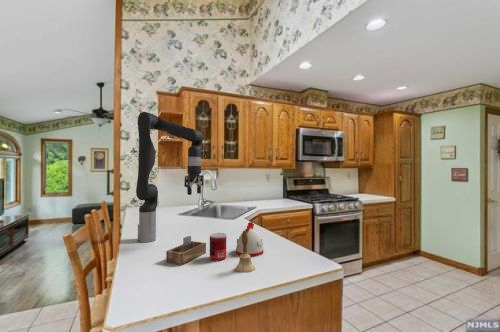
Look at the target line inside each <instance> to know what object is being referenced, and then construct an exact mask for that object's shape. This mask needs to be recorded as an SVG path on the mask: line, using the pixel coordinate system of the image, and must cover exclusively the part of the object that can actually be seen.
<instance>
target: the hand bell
mask: <svg viewBox="0 0 500 332" xmlns="http://www.w3.org/2000/svg"><path fill="white" fill-rule="evenodd" d="M242 233H243V234H242ZM242 233H241V234H242V243H243V254H242V255H240V256H239V261H238V263H237V265H236V266H235V271H237V272H239V273H251V272H253V271H255V270H256V267H255V265H254V264H253V262H252V259H251V258H252V257H251V256H250V255H249V254H247V242H248V235H247V232H246V229H244V230H243V231H242Z"/></svg>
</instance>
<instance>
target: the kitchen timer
mask: <svg viewBox="0 0 500 332" xmlns="http://www.w3.org/2000/svg"><path fill="white" fill-rule="evenodd" d="M254 226H255V223H254V222H253V221H251V222H248V223H247V225H246V228H245V230H246V232H247V235H248V242H247V254H249V255H250V256H251V258H254V257H255V258H256V257H259V256H261V255H263V254H264V240H263V238H261V236H260V234H259V233H258V232H257V231H256V230H255V229H254ZM242 234H243V232H242V233H241V234H240V235H239V237H238V238H237V239H236V246H235V253H236V255H237V256H239V257H240V255H242V254H243V243H242Z"/></svg>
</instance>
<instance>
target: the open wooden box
mask: <svg viewBox="0 0 500 332" xmlns="http://www.w3.org/2000/svg"><path fill="white" fill-rule="evenodd" d="M165 252H166V254H165V255H166V257H165V259H166V260H165V261H166V263H168V264H172V265H178V266H185V264H186V265H187V264H188V263H190V262H192V261H194V260H196V259H198V258H200V257H201V256H203V255H206V254H207V243H206V242H202V241H195V240H191V249H189V250H187V251H185V252H183V244H180V245H178V246H175V247H173V248H170V249H168V250H166V251H165ZM182 252H183V253H182Z"/></svg>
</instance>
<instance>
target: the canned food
mask: <svg viewBox="0 0 500 332" xmlns="http://www.w3.org/2000/svg"><path fill="white" fill-rule="evenodd" d="M226 258H227V234H226V233H224V232H214V233H211V234H210V235H209V259H210V260H211V261H214V262H222V261H223V260H226Z"/></svg>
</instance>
